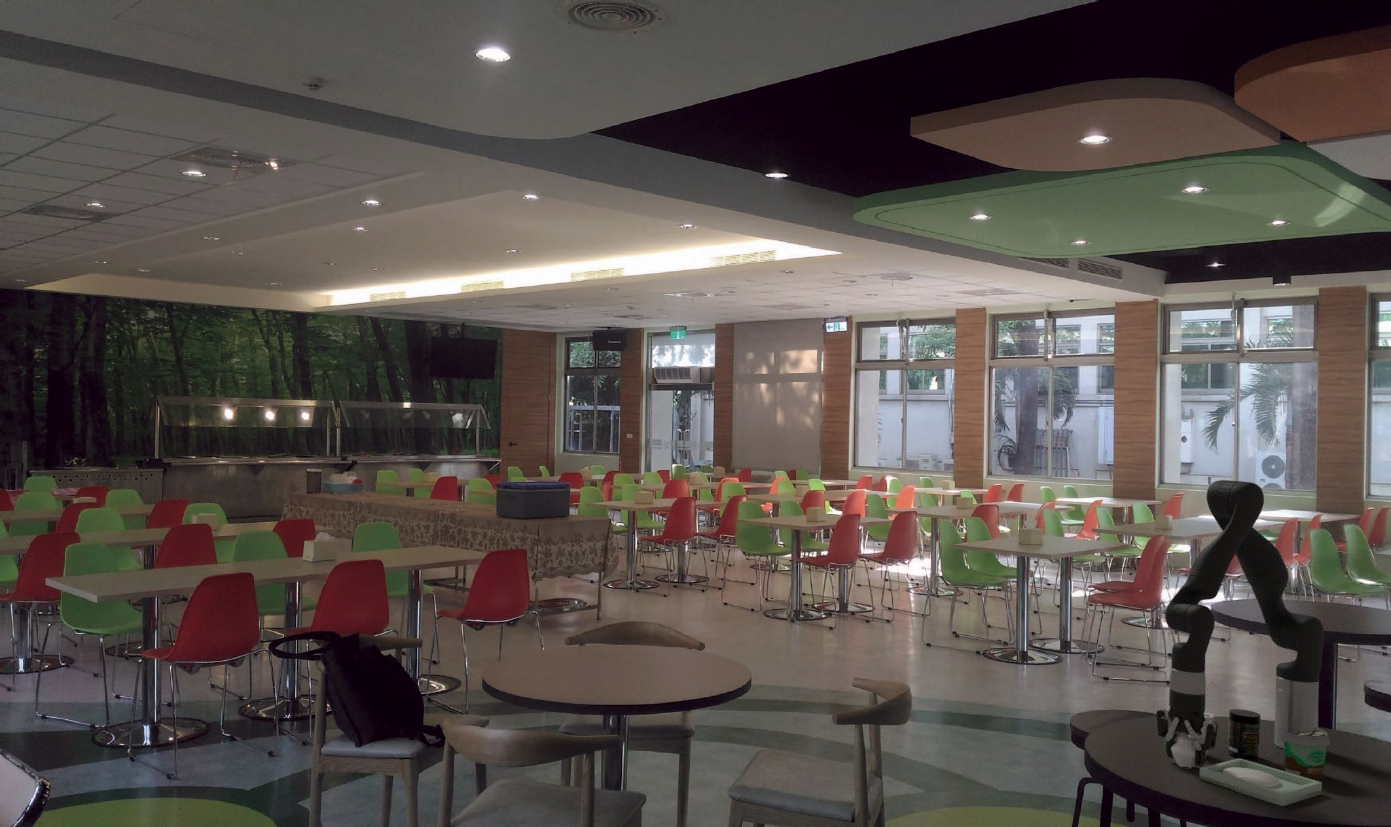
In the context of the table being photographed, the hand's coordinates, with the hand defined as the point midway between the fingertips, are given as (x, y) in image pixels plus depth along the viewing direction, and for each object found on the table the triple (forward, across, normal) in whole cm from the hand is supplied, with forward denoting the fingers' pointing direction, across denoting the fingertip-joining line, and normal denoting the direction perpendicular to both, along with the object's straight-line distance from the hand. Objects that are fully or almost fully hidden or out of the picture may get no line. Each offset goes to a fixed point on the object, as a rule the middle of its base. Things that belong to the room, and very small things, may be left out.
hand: (1185, 761), depth 234 cm
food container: (+1, -18, -20) cm, 27 cm away
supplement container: (+1, -2, -21) cm, 21 cm away
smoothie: (+1, +4, -12) cm, 13 cm away
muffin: (+1, 0, 0) cm, 1 cm away
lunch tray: (+1, -16, -2) cm, 16 cm away
